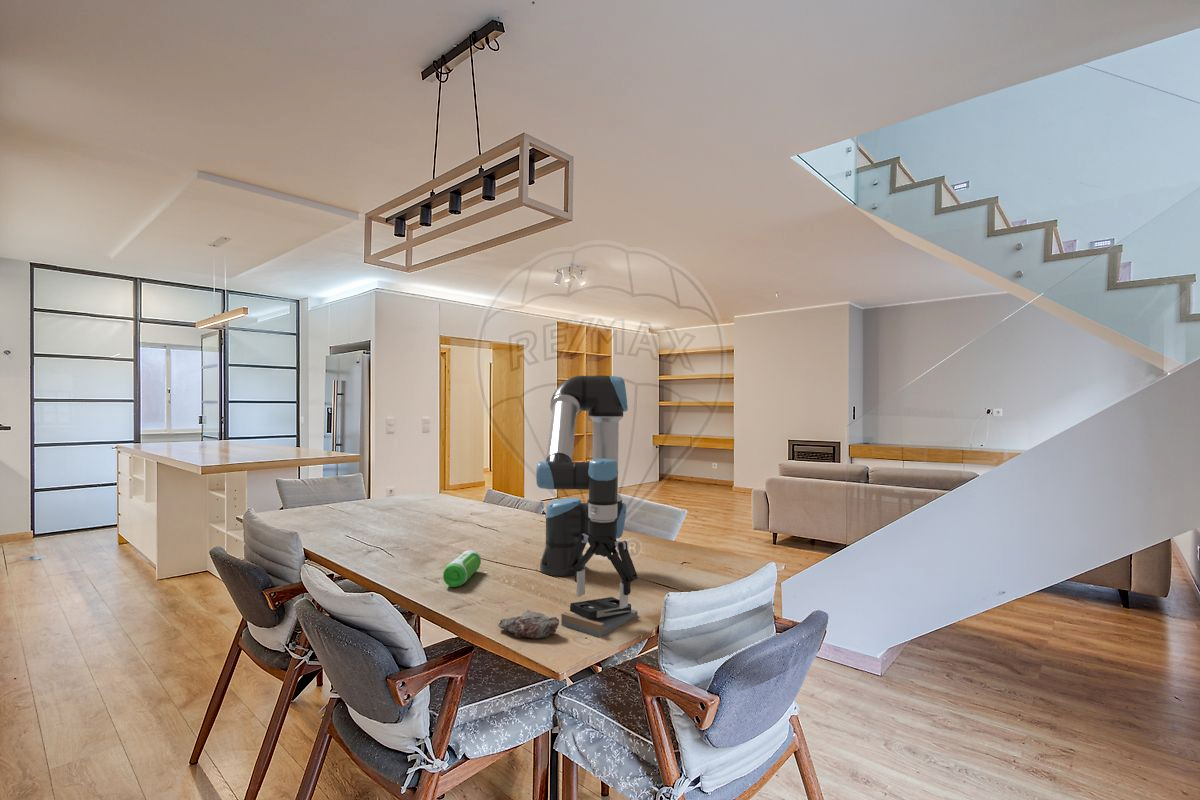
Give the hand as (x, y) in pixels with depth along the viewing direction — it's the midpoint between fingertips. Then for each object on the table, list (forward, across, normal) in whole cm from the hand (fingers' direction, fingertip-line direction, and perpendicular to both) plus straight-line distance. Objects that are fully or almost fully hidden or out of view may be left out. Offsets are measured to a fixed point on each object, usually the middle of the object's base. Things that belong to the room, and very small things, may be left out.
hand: (601, 601), depth 146 cm
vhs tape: (+3, 0, 0) cm, 3 cm away
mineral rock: (+5, -9, -18) cm, 21 cm away
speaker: (+5, -53, 0) cm, 53 cm away
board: (+5, 0, -1) cm, 5 cm away
